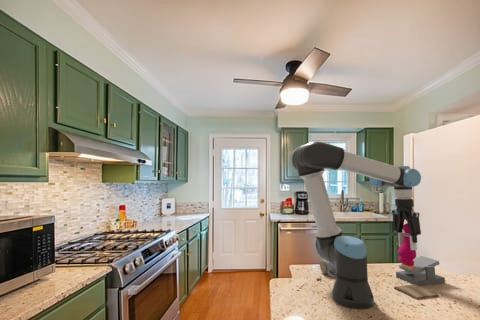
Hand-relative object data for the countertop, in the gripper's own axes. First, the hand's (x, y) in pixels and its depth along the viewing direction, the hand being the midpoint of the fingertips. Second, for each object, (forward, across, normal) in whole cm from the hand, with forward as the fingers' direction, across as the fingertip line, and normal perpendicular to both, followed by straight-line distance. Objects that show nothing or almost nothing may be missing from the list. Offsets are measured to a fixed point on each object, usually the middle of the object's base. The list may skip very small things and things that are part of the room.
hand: (407, 248), depth 124 cm
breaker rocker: (+10, 0, -6) cm, 11 cm away
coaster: (+15, -11, +9) cm, 20 cm away
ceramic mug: (+15, +17, +30) cm, 37 cm away
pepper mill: (+7, 0, +2) cm, 7 cm away
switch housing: (+15, 0, -5) cm, 16 cm away
